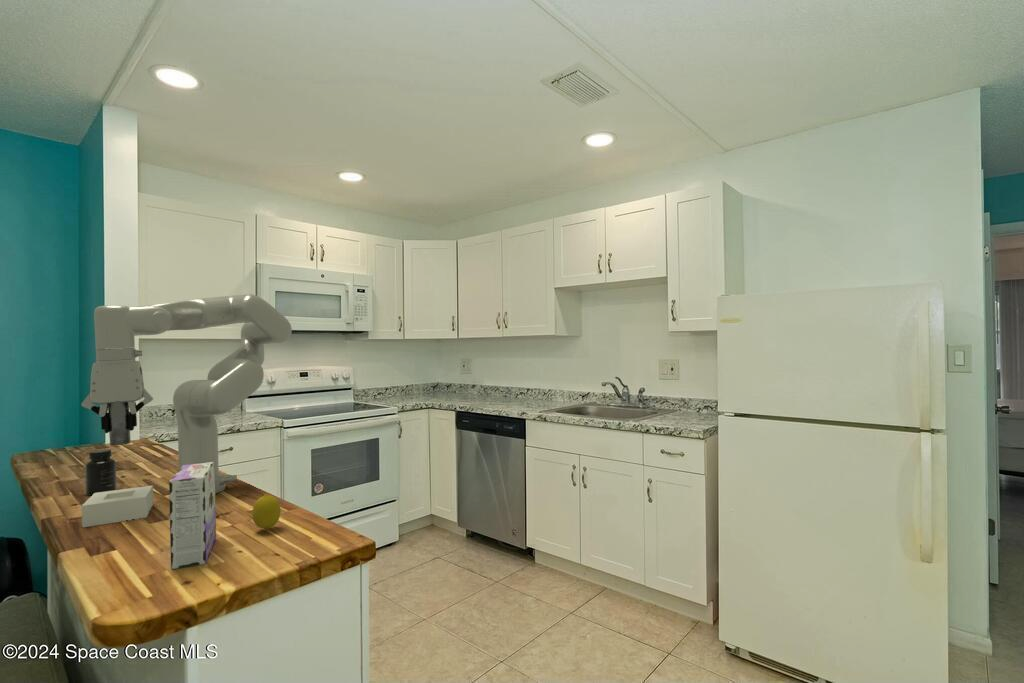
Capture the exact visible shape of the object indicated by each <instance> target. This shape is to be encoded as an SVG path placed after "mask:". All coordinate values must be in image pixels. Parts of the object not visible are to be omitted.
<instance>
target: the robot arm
mask: <svg viewBox="0 0 1024 683" xmlns="http://www.w3.org/2000/svg"><path fill="white" fill-rule="evenodd" d="M93 313H94V314H93V317H94V318H93V320H94V336H95V338H94V339H95V342H94V343H95V357H96V358H95V359H96V361H95V362H93V363H92V365H91V366H92V367H91V372H90V373H91V374H90V389H89V390H90V391H89V393H88V394H87V396H86V397H85V398H84V400H83V401H82V402H81V407H82V408H85V409H88V410H91V411H92V412H93V413H95V414H97V415H98V417H100V423H101V424H100V425H101V430H103V431H104V434H109V415H108V403H112V402H115V401H120V402H128V405H129V415H128V425H129V430H130V432H131V431H133V430H134V429H135V427H137V426H138V419H137V418H138V416H137V413H138V412H140V410H141V409H142V408H143V407H145V406H147V404H149V403H151V402H152V401H153V400H154V397H153V396H152V395H151V394H150V393H149V392H148V391H147V389H145V384H144V375H143V369H142V364H141V361H140V360H136V359H137V358H139V357H143V350H139V349H136V346H135V345H136V342H135V336H154V335H161V334H163V333H165V332H169V331H189V330H190V331H191V330H204V329H208V328H217V327H221V326H227V325H235V324H243V325H242V327H241V329H240V344H239V346H238V348H237V349H236V350H235V351H233V352H232V353H230V354H229V355H228V356H226V357H225V358H224V359H222V360H220V361H218V362H217V363H216V364H215V365H214V366H212V368H210V370H209V371H208V373H207V378H206V379H192V380H188V381H184V382H182V383H181V384H180V385H178V386H177V388H175V391H174V392H173V396H172V403H173V408H174V412H175V416H176V417H175V418H176V422H177V438H178V439H177V444H178V445H177V447H178V448H177V449H178V450H177V451H178V453H177V454H178V471H179V470H180V469H181V468H182V466H183V465H190V464H199V463H208V462H214V476H215V495H216V494H218V493H221V492H223V491H225V490H226V483H236V482H237V481H238V479H237V478H238V475H237V474H227V475H223V474H221V471H219V470H220V469H219V468H220V467H219V464H220V463H219V430H218V423H217V420H216V417H215V415H218V416H219V415H224V414H227V413H229V412H231V411H232V410H234V409H235V408H236V407H238V406H239V405H240V404H242V402H244V401H245V400H246V399H247V398H248V397H251V395H252V394H254V393H255V392H256V391H257V390H258V389H259V388H260V386H261V385H262V383H263V381H264V377H265V376H264V375H265V373H264V368H263V364H264V361H265V345H266V344H269V345H270V344H271V345H272V344H282V343H285V342H286V341H288V340H289V339H290V337H291V336H292V330H293V328H292V325H291V323H290V321H289V319H287V318H286V316H285V315H283V314H282V312H279V311H278V310H277V309H276V308H275V307H274V306H272V305H271V304H270V303H269V302H268V301H266V300H265V299H264V298H262V297H260V296H259V295H256V294H252V293H249V294H237V295H235V294H234V295H226V296H225V295H224V296H217V297H216V296H215V297H213V296H212V297H207V298H206V297H204V298H202V297H201V298H195V299H194V298H193V299H186V300H182V301H181V300H180V301H175V302H169V303H167V302H166V303H161V304H151V305H138V306H127V305H120V304H119V305H118V304H117V305H113V304H111V305H99V306H97V307H95V309H94V311H93ZM143 398H144V399H143ZM141 399H143V400H142V401H140V400H141ZM137 401H140V402H138V403H137ZM99 405H100V406H99Z"/></svg>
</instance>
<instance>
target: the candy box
mask: <svg viewBox="0 0 1024 683" xmlns="http://www.w3.org/2000/svg"><path fill="white" fill-rule="evenodd" d="M168 482H169V483H168V484H169V485H168V486H169V490H168V492H169V529H170V532H169V534H170V535H169V537H170V546H169V547H170V570H175V569H181V568H189V567H194V566H201V565H202V566H203V565H205V564H207V562H208V559H209V556H210V555H211V552H212V550H213V548H214V544H215V541H216V539H217V516H216V515H217V514H216V513H217V512H216V494H215V476H214V462H208V463H199V464H190V465H183V466H182V468H181V469H180V470H179V469H178V471H177V472H176V473H175V474H174V475H173V476H172V478H171V479H170V480H169V481H168Z"/></svg>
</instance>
